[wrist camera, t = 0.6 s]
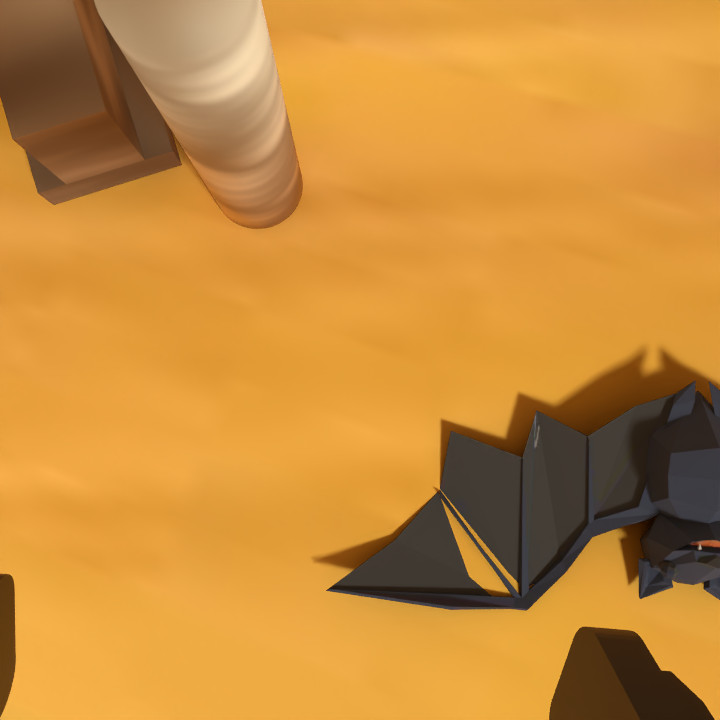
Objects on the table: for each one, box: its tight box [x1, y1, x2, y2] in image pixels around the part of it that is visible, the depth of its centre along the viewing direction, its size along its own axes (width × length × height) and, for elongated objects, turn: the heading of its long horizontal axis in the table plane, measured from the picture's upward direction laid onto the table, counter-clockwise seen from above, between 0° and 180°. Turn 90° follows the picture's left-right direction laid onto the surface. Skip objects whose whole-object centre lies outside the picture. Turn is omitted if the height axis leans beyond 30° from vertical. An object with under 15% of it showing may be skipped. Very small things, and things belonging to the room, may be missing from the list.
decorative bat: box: [326, 381, 720, 610], centre depth 28 cm, size 30×4×10 cm
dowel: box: [94, 0, 303, 229], centre depth 24 cm, size 4×4×14 cm
